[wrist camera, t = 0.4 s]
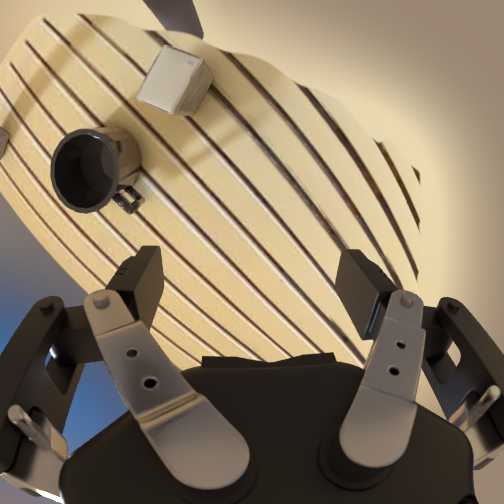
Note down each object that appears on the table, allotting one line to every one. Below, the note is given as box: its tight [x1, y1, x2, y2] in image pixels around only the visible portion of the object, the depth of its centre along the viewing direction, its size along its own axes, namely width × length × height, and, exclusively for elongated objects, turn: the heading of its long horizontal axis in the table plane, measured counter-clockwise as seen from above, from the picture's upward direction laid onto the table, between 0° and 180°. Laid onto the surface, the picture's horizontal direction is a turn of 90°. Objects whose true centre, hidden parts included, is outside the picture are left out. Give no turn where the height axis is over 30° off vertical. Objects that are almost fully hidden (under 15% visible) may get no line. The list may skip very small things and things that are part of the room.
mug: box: [50, 127, 145, 214], centre depth 31 cm, size 14×10×8 cm
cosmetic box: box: [136, 45, 214, 116], centre depth 26 cm, size 6×4×12 cm
